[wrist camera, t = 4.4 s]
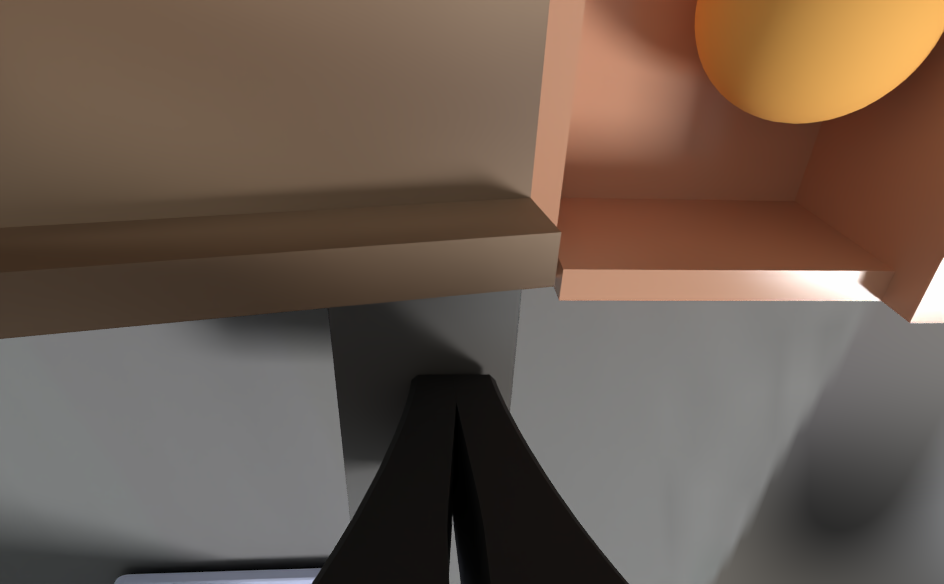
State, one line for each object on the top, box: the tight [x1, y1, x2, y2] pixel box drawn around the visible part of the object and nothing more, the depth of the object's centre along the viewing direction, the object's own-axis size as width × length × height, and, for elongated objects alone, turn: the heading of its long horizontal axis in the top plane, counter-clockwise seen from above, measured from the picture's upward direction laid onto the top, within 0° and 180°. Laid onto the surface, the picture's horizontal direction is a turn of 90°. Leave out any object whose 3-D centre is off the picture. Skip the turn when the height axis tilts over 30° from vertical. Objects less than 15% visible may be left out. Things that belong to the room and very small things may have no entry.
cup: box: [531, 0, 944, 323], centre depth 9 cm, size 9×7×4 cm
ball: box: [695, 0, 944, 124], centre depth 9 cm, size 4×4×4 cm
